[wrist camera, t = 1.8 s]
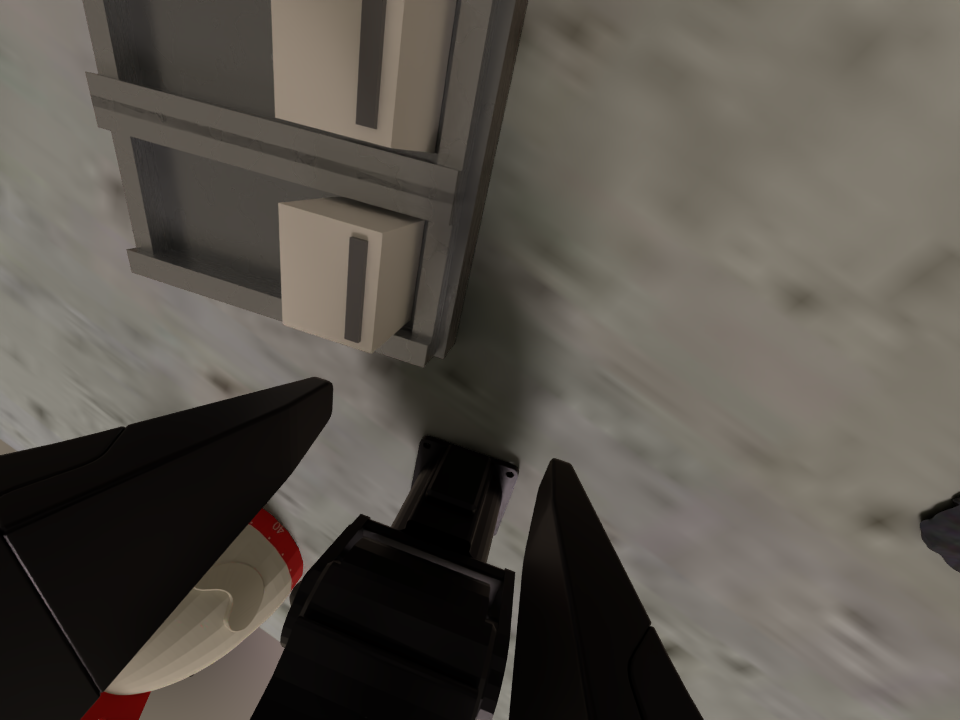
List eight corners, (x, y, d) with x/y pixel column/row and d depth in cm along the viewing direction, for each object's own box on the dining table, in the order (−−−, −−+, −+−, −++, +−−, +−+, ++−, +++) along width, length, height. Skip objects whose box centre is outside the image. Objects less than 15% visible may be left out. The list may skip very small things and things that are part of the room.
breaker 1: (434, 153, 15) (387, 147, 12) (343, 129, 16) (270, 116, 12) (457, -5, 13) (407, -73, 9) (349, -28, 13) (261, -102, 10)
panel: (454, 343, 21) (433, 372, 18) (182, 257, 23) (120, 270, 20) (589, -288, 11) (592, -463, 8) (83, -353, 13) (-72, -514, 10)
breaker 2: (410, 319, 19) (368, 355, 15) (336, 296, 19) (279, 326, 16) (424, 219, 16) (380, 234, 13) (340, 196, 17) (274, 203, 13)
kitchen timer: (235, 591, 41) (71, 790, 28) (147, 496, 36) (-97, 678, 23) (330, 584, 36) (184, 824, 22) (241, 471, 31) (-5, 688, 18)
